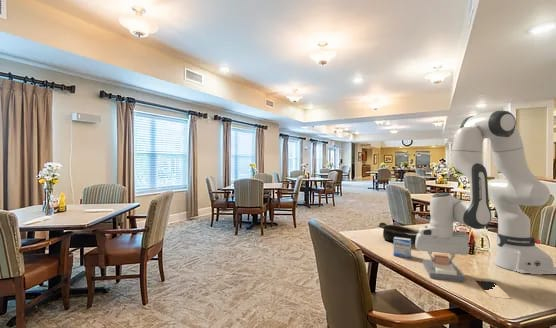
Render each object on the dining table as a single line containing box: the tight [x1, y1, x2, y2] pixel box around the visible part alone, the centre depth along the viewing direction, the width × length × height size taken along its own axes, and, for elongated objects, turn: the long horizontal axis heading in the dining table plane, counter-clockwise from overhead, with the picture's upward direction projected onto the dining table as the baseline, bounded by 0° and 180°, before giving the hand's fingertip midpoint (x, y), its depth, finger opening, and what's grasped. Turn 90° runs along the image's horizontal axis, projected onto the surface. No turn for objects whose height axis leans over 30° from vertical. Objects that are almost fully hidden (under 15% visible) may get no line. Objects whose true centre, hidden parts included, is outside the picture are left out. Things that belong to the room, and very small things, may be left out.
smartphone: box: [475, 280, 498, 291], centre depth 105 cm, size 7×1×14 cm
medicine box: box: [392, 237, 412, 259], centre depth 142 cm, size 8×4×9 cm, turn 62°
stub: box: [432, 252, 450, 265], centre depth 123 cm, size 5×5×4 cm
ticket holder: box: [422, 258, 465, 282], centre depth 121 cm, size 12×17×4 cm
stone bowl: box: [377, 222, 419, 244], centre depth 169 cm, size 25×25×9 cm
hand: (441, 262), depth 123 cm, fingers closed on stub, 5 cm apart
